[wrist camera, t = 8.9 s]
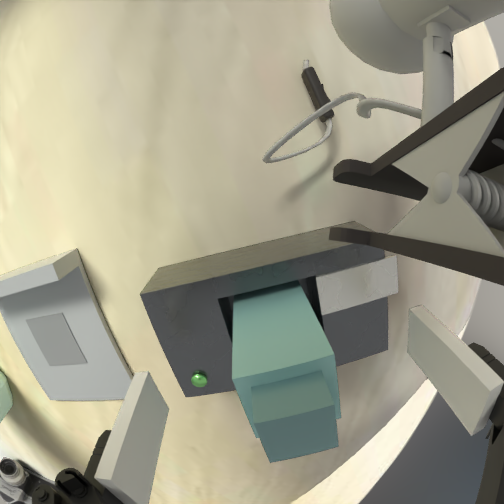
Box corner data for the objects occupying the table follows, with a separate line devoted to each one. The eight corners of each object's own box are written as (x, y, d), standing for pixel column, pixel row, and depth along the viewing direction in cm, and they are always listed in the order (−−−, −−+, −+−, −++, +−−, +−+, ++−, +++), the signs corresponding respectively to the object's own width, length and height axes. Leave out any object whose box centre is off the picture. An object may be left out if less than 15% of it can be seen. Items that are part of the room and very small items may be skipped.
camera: (55, 473, 29) (37, 516, 20) (69, 493, 32) (55, 532, 22) (-10, 439, 28) (-31, 473, 18) (6, 462, 30) (-11, 495, 21)
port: (158, 267, 20) (138, 296, 16) (363, 218, 20) (395, 234, 15) (193, 359, 23) (185, 400, 18) (372, 316, 22) (398, 348, 18)
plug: (234, 282, 20) (231, 416, 9) (291, 267, 20) (350, 387, 9) (248, 331, 21) (258, 471, 10) (302, 318, 21) (352, 449, 10)
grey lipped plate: (-9, 278, 20) (-32, 292, 16) (76, 248, 20) (52, 263, 16) (52, 396, 24) (39, 417, 20) (143, 393, 24) (133, 421, 20)
